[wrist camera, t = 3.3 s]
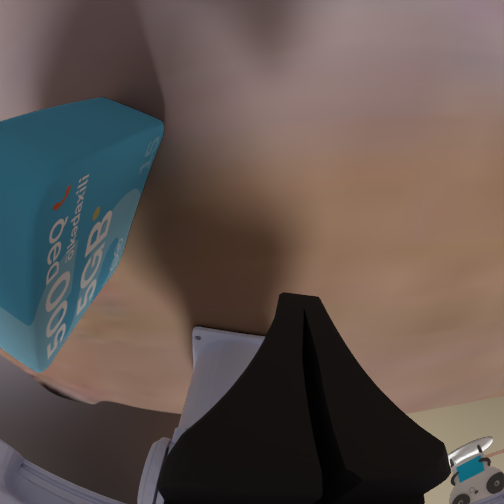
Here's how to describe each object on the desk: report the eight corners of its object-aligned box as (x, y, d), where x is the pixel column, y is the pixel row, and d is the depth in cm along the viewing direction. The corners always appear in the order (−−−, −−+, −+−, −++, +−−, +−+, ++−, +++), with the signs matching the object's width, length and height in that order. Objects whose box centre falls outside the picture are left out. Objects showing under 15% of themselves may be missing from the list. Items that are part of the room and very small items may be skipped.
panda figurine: (492, 429, 35) (512, 498, 22) (497, 442, 38) (513, 501, 25) (433, 459, 39) (445, 528, 27) (446, 468, 43) (457, 527, 30)
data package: (120, 265, 23) (39, 384, 13) (73, 240, 22) (-20, 342, 12) (171, 118, 17) (37, 178, 7) (111, 93, 17) (-43, 134, 6)
